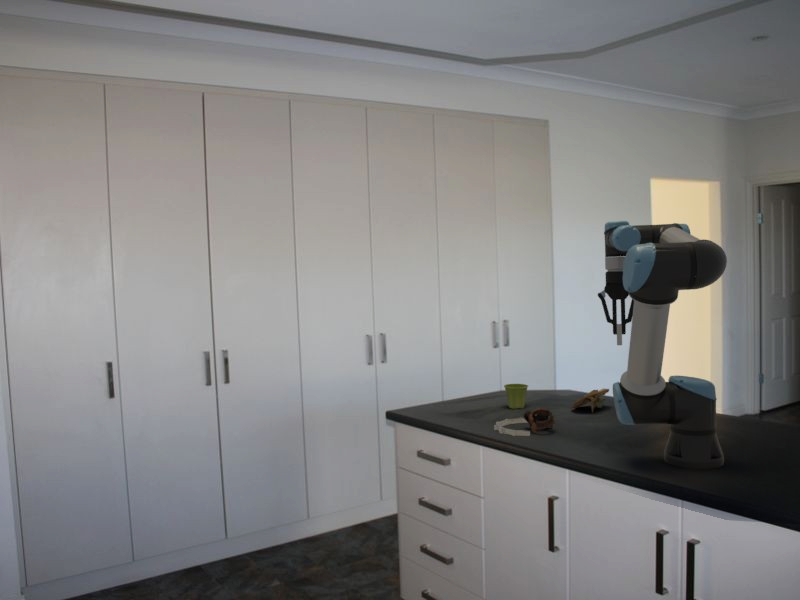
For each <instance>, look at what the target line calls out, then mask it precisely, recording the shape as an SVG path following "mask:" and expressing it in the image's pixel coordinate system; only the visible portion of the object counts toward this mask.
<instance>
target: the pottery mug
mask: <svg viewBox="0 0 800 600" xmlns="http://www.w3.org/2000/svg"><path fill="white" fill-rule="evenodd" d="M523 418H525V420H526V421H527V422H528V423H527V424H529V427H530V428H531V429H530V431H531V432H533V433H534V434H536V433H537V431H541V430H545V429H548V428H551V429H553V425H555V424H556V421H555V420H554V419H555V416H554V415H553V412H552V411H551V410H549V409H547V408H536V409H534V410H532V411H531V410H527V411H525V412H524V413H523Z"/></svg>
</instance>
